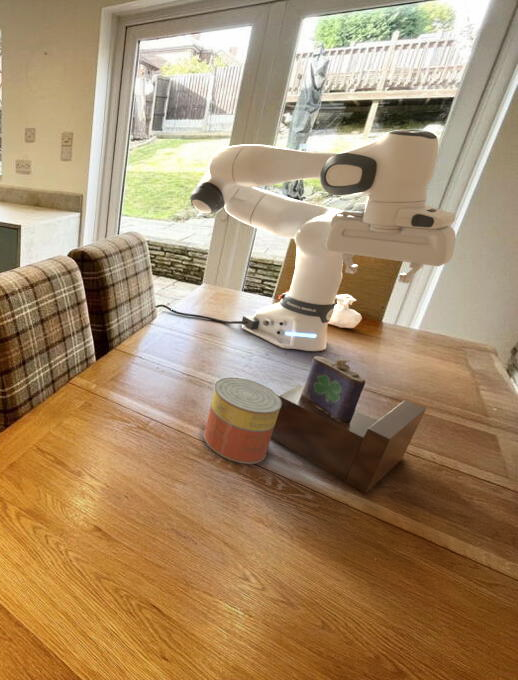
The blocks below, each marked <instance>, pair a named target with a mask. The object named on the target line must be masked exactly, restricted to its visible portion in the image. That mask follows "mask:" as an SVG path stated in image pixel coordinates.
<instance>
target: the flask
mask: <svg viewBox="0 0 518 680" xmlns="http://www.w3.org/2000/svg"><path fill="white" fill-rule="evenodd" d="M347 362H350V360H349V359H348V358H344V357H342V358H335V360H334V361H333V360H331V359H329V358H326V357H323V356H319V355H318V356H314V357H313V358H312V360H311V365H310V368H309V371H308V373H307V377H306V379H305V382H304V388H303V390H302V394H301V396H302V397H303V398H304V399H305V400H306V401H309V402H311V403H312V404H313V405H314V406H316V407H317V408H319V409H321V410H324V411H325V413H327V414H329V415H331V417H333V418H335V419H336V420H337V421H340V422H342V423H345V424H348V423H350V422H351V419H352V417H353V415H354V412H355V410H356V409H357V405H358V403H359V401H360V397H361V395H362V393H363V390H364V387H365V385H366V379H365V377H363V376H360V374H359V373H358V372H356V371H353V370H351V367H350V365H349V364H346V363H347Z"/></svg>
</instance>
